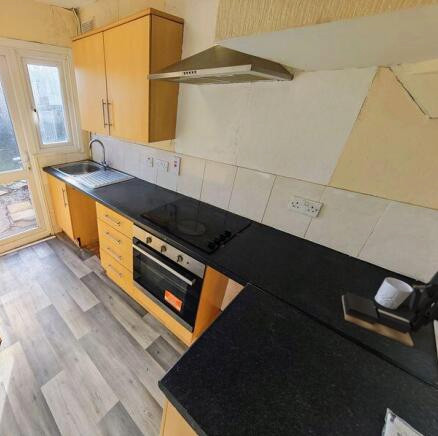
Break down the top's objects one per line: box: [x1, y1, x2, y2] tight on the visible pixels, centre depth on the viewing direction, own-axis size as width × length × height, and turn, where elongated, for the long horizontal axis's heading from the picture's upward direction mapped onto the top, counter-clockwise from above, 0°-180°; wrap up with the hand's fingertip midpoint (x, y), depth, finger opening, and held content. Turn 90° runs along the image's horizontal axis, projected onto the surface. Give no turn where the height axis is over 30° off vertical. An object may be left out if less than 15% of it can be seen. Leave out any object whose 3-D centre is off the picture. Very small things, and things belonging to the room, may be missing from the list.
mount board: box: [341, 291, 415, 347], centre depth 84 cm, size 18×14×4 cm
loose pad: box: [375, 305, 411, 334], centre depth 82 cm, size 8×6×4 cm
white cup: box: [374, 277, 413, 310], centre depth 90 cm, size 8×8×10 cm
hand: (411, 328), depth 80 cm, fingers closed
